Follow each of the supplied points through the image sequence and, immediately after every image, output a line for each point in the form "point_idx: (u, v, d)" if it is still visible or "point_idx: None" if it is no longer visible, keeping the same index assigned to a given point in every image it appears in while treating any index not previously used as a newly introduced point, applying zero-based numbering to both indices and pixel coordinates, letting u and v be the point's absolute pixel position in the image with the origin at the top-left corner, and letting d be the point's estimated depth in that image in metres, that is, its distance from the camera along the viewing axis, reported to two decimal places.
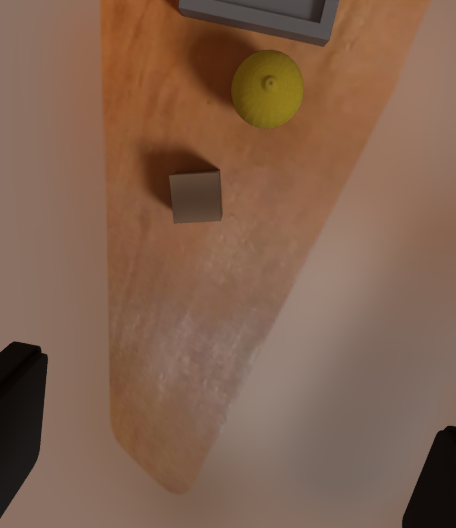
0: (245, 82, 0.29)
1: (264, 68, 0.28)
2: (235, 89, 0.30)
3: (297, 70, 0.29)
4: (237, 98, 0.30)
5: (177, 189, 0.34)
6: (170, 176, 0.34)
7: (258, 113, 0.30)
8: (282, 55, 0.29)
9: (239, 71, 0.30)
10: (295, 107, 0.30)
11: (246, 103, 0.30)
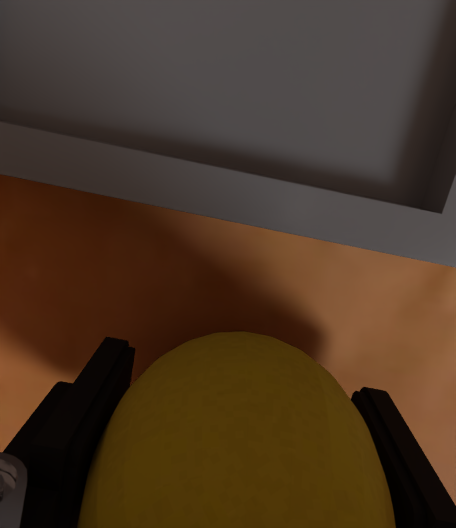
0: None
1: None
2: None
3: None
4: None
5: None
6: None
7: None
8: (305, 496, 0.05)
9: None
10: None
11: None
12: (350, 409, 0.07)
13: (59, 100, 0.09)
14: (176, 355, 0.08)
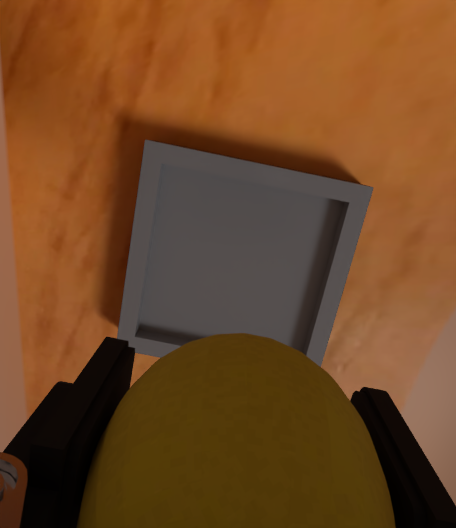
0: None
1: None
2: None
3: None
4: None
5: None
6: None
7: None
8: (305, 500, 0.05)
9: None
10: None
11: None
12: (350, 412, 0.07)
13: (170, 325, 0.25)
14: (176, 357, 0.08)
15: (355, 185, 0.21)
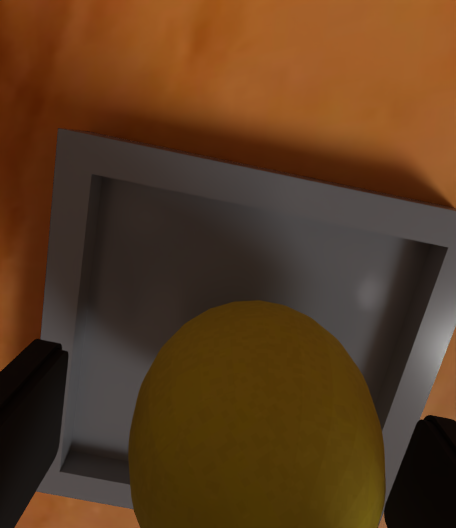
0: (156, 526, 0.07)
1: (232, 508, 0.06)
2: (130, 487, 0.08)
3: (373, 454, 0.07)
4: (139, 523, 0.08)
5: None
6: None
7: None
8: (313, 406, 0.07)
9: (141, 440, 0.08)
10: None
11: None
12: (347, 356, 0.09)
13: (123, 445, 0.15)
14: (204, 316, 0.10)
15: None
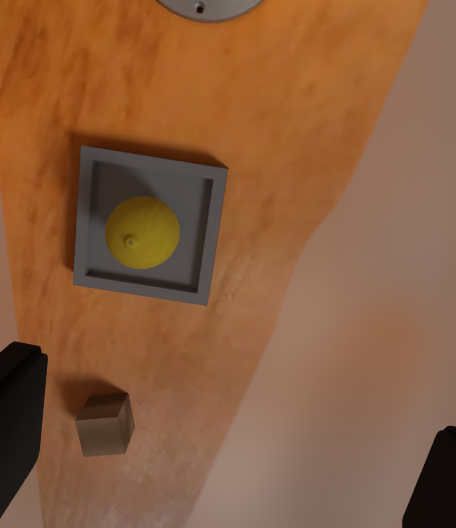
0: (110, 238, 0.29)
1: (124, 226, 0.29)
2: (105, 239, 0.30)
3: (162, 222, 0.30)
4: (108, 248, 0.30)
5: (83, 430, 0.39)
6: (76, 421, 0.38)
7: (127, 264, 0.30)
8: (145, 209, 0.29)
9: (107, 224, 0.30)
10: (166, 253, 0.31)
11: (114, 255, 0.30)
12: (166, 207, 0.31)
13: (109, 269, 0.37)
14: None
15: (216, 168, 0.34)
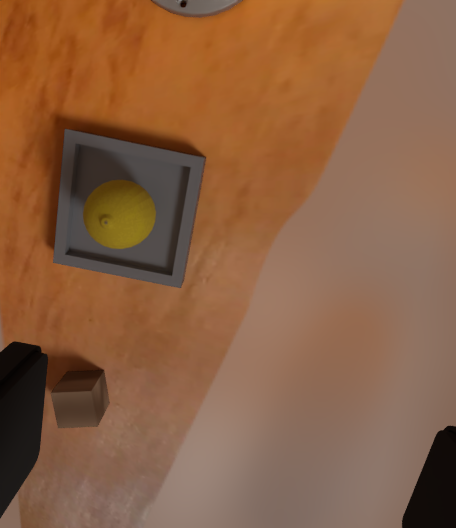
0: (87, 217, 0.31)
1: (101, 207, 0.30)
2: (83, 219, 0.32)
3: (137, 204, 0.31)
4: None
5: (58, 402, 0.40)
6: (52, 393, 0.40)
7: (103, 243, 0.32)
8: (122, 191, 0.31)
9: (85, 204, 0.32)
10: (141, 235, 0.32)
11: (91, 234, 0.32)
12: (143, 191, 0.33)
13: (89, 249, 0.39)
14: None
15: (193, 156, 0.35)
